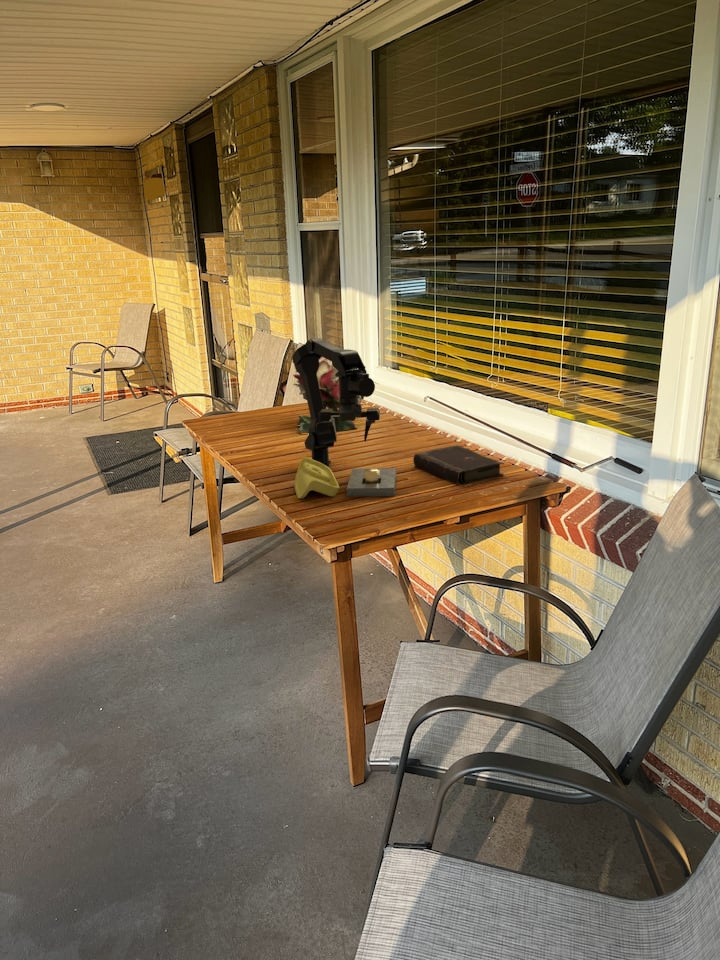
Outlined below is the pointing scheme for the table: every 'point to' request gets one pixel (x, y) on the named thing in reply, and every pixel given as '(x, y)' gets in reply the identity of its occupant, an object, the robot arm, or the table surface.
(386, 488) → the flange plate
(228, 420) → the table surface
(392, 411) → the table surface
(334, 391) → the rose bouquet
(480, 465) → the diary
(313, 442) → the robot arm
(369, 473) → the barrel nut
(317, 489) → the plastic component
